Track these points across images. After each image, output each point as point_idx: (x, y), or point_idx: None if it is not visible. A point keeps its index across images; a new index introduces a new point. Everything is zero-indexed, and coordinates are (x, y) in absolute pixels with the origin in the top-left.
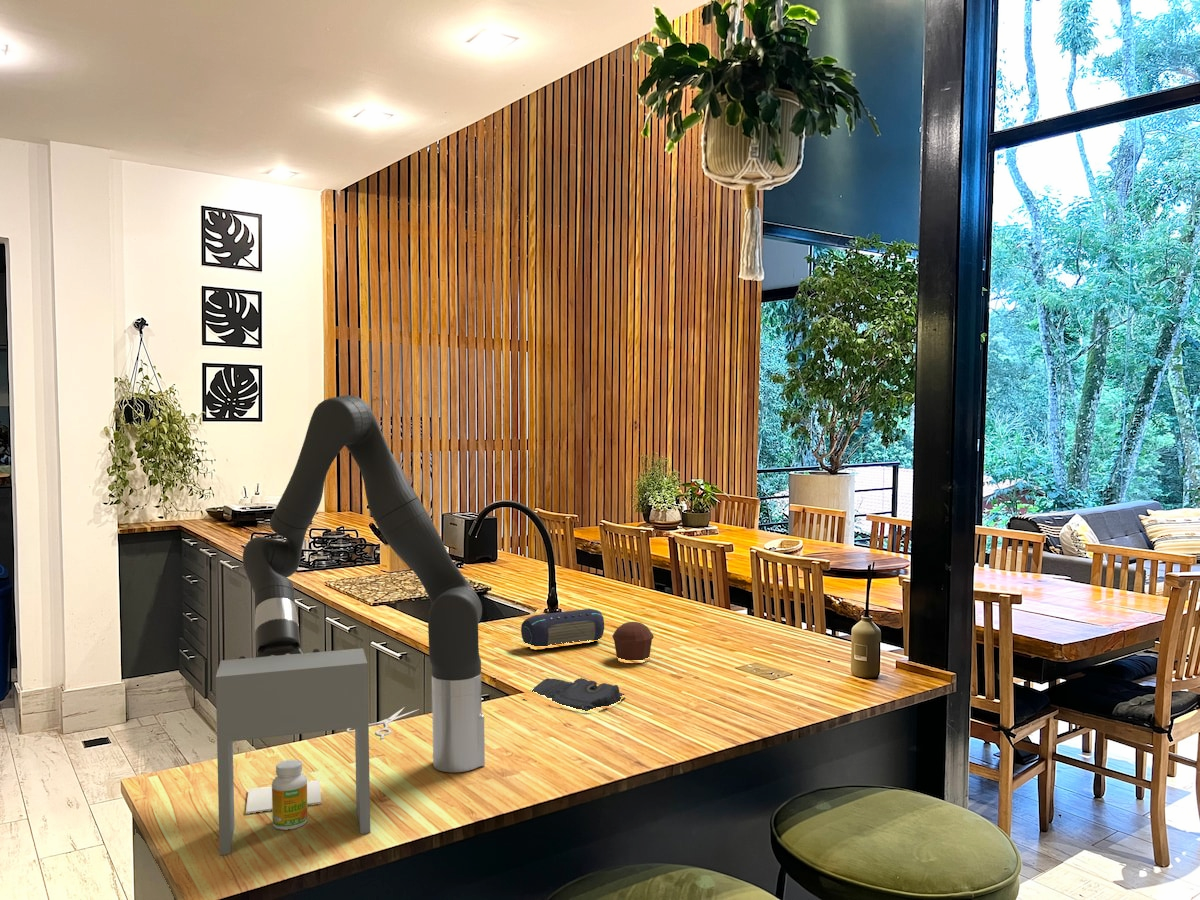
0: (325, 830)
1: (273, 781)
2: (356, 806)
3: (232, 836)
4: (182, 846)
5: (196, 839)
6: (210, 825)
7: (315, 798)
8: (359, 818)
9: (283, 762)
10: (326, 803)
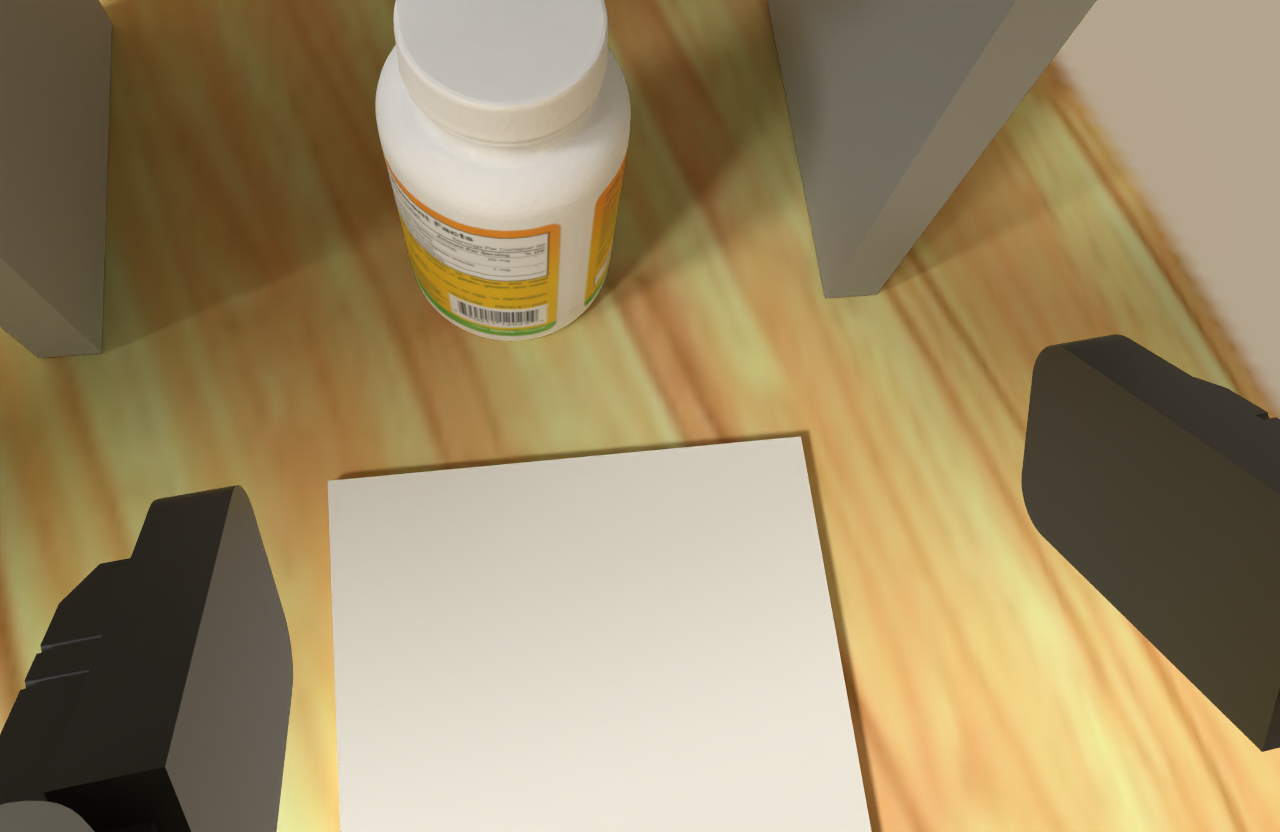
0: (305, 119)
1: (619, 74)
2: (94, 337)
3: (798, 133)
4: (1025, 135)
5: (982, 193)
6: (963, 343)
7: (369, 546)
8: (86, 48)
9: (554, 59)
10: (297, 491)
